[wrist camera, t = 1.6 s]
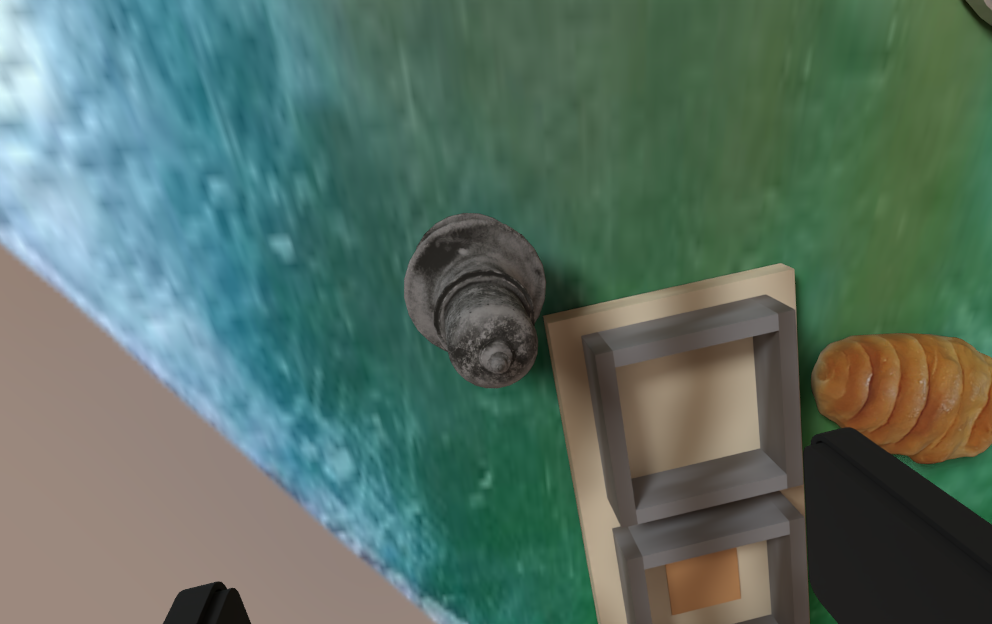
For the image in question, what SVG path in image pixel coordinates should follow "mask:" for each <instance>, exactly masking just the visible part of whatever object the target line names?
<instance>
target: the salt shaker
mask: <svg viewBox="0 0 992 624" xmlns="http://www.w3.org/2000/svg"><path fill="white" fill-rule="evenodd" d="M545 289H546V280H545V275H544V269H543V265H542V263H541V261H540V259H539V257H538V255H537V253H536V251H535V249H534V248H533V246H532V245H531V244H530V243H529V242H528V241H527V240H526V239H525V238H524V236H523V235H522V234H520V233H518V232H517V231H515V230H514V229H512V228H511V227H509V226H507V225H505V224H502V223H501V222H499V221H498V220H496V219H494V218H492V217H489V216H485V215H482V214H476V213H462V214H458V215H454V216H449V217H447V218H446V219H444V220H442V221H440V222H438V223H436V224H435V225H434V226H433V227H432V228H431V229H430V230H429V231H427V232H426V233H425V234H424V236H423V238H422V239H421V241H420V243H419V244H418V246H417V248H416V251H415V253H414V255H413V256H412V258H411V260H410V261H409V265H408V268H407V272H406V275H405V279H404V298H405V302H406V306H407V310H408V313H409V316H410V318H411V319H412V321H413V323H414V324H415V326H416V328H417V329H418V331H419V332H420V333H421V334H422V335H423V336H424V337H426V338H427V339H428V340H429V341H430V342H431V343H432V344H434V345H436V346H438V347H440V348H441V349H443V350H445V351H447V352H448V354H449V357H450V361H451V363H452V364H453V366H454V368H455V369H456V371H457V372H458V373H459V374H460V375H461V376H462V377H463V378H464V379H465V380H467V381H469V382H470V383H472V384H474V385H476V386H480V387H484V388H500V387H505V386H509V385H511V384H513V383H515V382H517V381H519V380H520V379H521V378H522V377H524V376H525V375H526V374H527V373H528V372H529V370H530V369H531V367H532V366H533V364H534V362H535V359H536V356H537V350H538V338H537V333H536V329H535V327H534V324H535V322H536V320H537V319H538V317H539V315H540V312H541V309H542V306H543V303H544V301H545Z"/></svg>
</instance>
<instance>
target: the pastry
mask: <svg viewBox="0 0 992 624" xmlns="http://www.w3.org/2000/svg"><path fill="white" fill-rule="evenodd" d="M811 388H812V393H813V396H814V398H815V401H816V404H817V407H818V410H819V412H820V413H821V414H822V415H824V416H825V417H827V418H828V419H830V420H832V421H834V422H835V423H837V424H838V425H839V426H840V427H841V428H845V427H851V428H853V429H856V430H857V431H859V432H860V433H861V434H863V435H864V436H866V437H867V438H869V439H870V440H871V441H873V442H874V443H876V444H877V445H879V446H880V447H881V448H883V449H884V450H886V451H887V452H889V453H890V454H901V455H907V456H909V457H910V458H911V459H912V460H913V461H914V462H916V463H920V464H933V463H937V462H943V461H945V460H947V459H955V458H959V457H965V456H968V457H974V456H976V455H978V454H979V453H982V452H984V451H985V450H986V449H987V448H988V447H989V446H990V445H991V444H992V358H991V357H989V356H987V355H985V354H982V353H980V352H978V351H977V350H976V349H975V348H974V347H973V346H972V345H970V344H968V343H967V342H965V341H964V340H962V339H959V338H955V337H945V336H938V335H931V334H909V333H894V334H875V335H857V336H850V337H847V338H845V339H843V340H840V341H837V342H833V343H831V344H829V345H827V347H826V348H825V349H824V350H823V351H821V353H820V355H819V357H818V360H817V362H816V364H815V366H814V368H813V371H812V374H811Z"/></svg>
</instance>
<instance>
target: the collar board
mask: <svg viewBox="0 0 992 624" xmlns="http://www.w3.org/2000/svg"><path fill="white" fill-rule="evenodd" d="M543 319H544V324H545V330H546V335H547V341H548V346H549V352H550V358H551V363H552V369H553V374H554V380H555V385H556V391H557V397H558V402H559V408H560V413H561V419H562V425H563V430H564V436H565V441H566V447H567V452H568V458H569V464H570V469H571V475H572V480H573V486H574V491H575V497H576V503H577V508H578V514H579V519H580V525H581V530H582V536H583V542H584V547H585V553H586V558H587V564H588V570H589V575H590V581H591V586H592V592H593V597H594V603H595V609H596V614H597V620H598V624H810V617H809V594H808V571H807V548H806V526H805V503H804V480H803V457H802V434H801V411H800V389H799V366H798V343H797V320H796V297H795V274H794V269H793V268H791V267H789V266H786V265H784V264H781V263H779V264H775V265H770V266H766V267H761V268H757V269H752V270H748V271H743V272H739V273H734V274H730V275H725V276H721V277H716V278H712V279H707V280H703V281H698V282H694V283H689V284H685V285H680V286H676V287H671V288H666V289H662V290H657V291H653V292H648V293H644V294H639V295H635V296H630V297H626V298H621V299H617V300H612V301H608V302H603V303H599V304H594V305H590V306H585V307H581V308H576V309H572V310H567V311H563V312H558V313H554V314H549V315H545V316H543Z"/></svg>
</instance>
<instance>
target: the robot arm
mask: <svg viewBox="0 0 992 624" xmlns="http://www.w3.org/2000/svg"><path fill="white" fill-rule="evenodd" d="M966 1H967V2H968V4H969V5H970V6H971V7H972V8H973V10H974V11H975V12H976V13H977V14H978V16H979V17H980V18H982V19H983V20H984V21H986V22H987V23H988V24H990V25H991V26H992V0H966ZM803 459H804V481H805V502H806V523H807V545H808V566H809V579H810V583H811V586H812V589H813V591H814V593H815V595H816V597H817V598H818V600H819V601H820V602H821V604H822V605H823V606H824V607H825V608H826V609H827V611H828V612H829V613H830V614H831V615H832V617H833V618H834V619H835V620H836V621H837V623H838V624H992V525H991V524H990V523H989V522H987V521H986V520H984V519H983V518H981V517H980V516H979V515H977V514H976V513H974V512H973V511H971V510H970V509H969V508H967V507H966V506H964V505H963V504H961V503H960V502H959V501H957V500H956V499H954V498H953V497H951V496H950V495H949V494H947V493H946V492H944V491H943V490H941V489H940V488H939V487H937V486H936V485H934V484H933V483H931V482H930V481H929V480H927V479H926V478H924V477H923V476H921V475H920V474H919V473H917V472H916V471H914V470H913V469H911V468H910V467H909V466H907V465H906V464H904V463H903V462H901V461H900V460H899V459H897V458H896V457H894V456H893V455H891V454H890V453H889V452H887V451H886V450H884V449H883V448H881V447H880V446H879V445H877V444H876V443H874V442H873V441H871V440H870V439H869V438H867V437H866V436H864V435H863V434H861V433H860V432H859V431H857V430H856V429H853V428H851V427H845V428H841V429H837V430H832V431H828V432H824V433H820V434H816V435H815V436H813V438H812V440H811V445H810V446H807V447H805V449H804V453H803ZM163 624H251V622H250V620H249V617H248V615H247V612H246V610H245V607H244V605H243V602H242V600H241V597H240V595H239V593H238V591H237V590H236V589H235V588H230V589H227V588H226V586H225V585H224V584H223V583H222V582H214V583H210V584H206V585H201V586H197V587H194V588H189V589H185V590H183V591H181V592H179V594H178V595H177V597H176V598H175V600H174V602H173V605H172V607H171V609H170V611H169V613H168V615H167V617H166V619H165V621H164V623H163Z"/></svg>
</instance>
